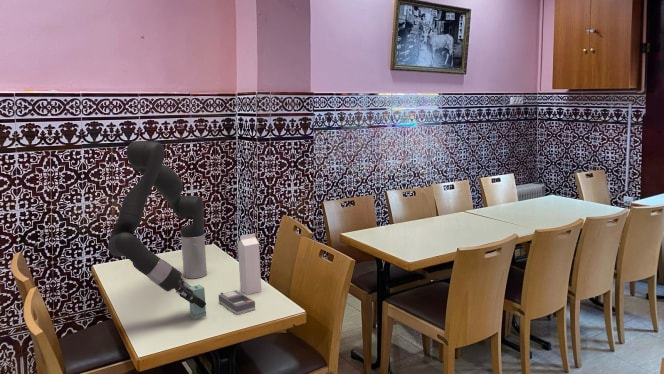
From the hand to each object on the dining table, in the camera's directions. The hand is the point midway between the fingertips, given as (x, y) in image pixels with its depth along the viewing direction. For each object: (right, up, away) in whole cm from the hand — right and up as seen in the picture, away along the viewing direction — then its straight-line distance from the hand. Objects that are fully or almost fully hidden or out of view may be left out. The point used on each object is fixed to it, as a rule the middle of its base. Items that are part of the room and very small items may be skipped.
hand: (202, 302), depth 188 cm
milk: (+13, 0, +22) cm, 25 cm away
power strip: (+9, -2, +9) cm, 13 cm away
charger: (-2, -4, 0) cm, 5 cm away
